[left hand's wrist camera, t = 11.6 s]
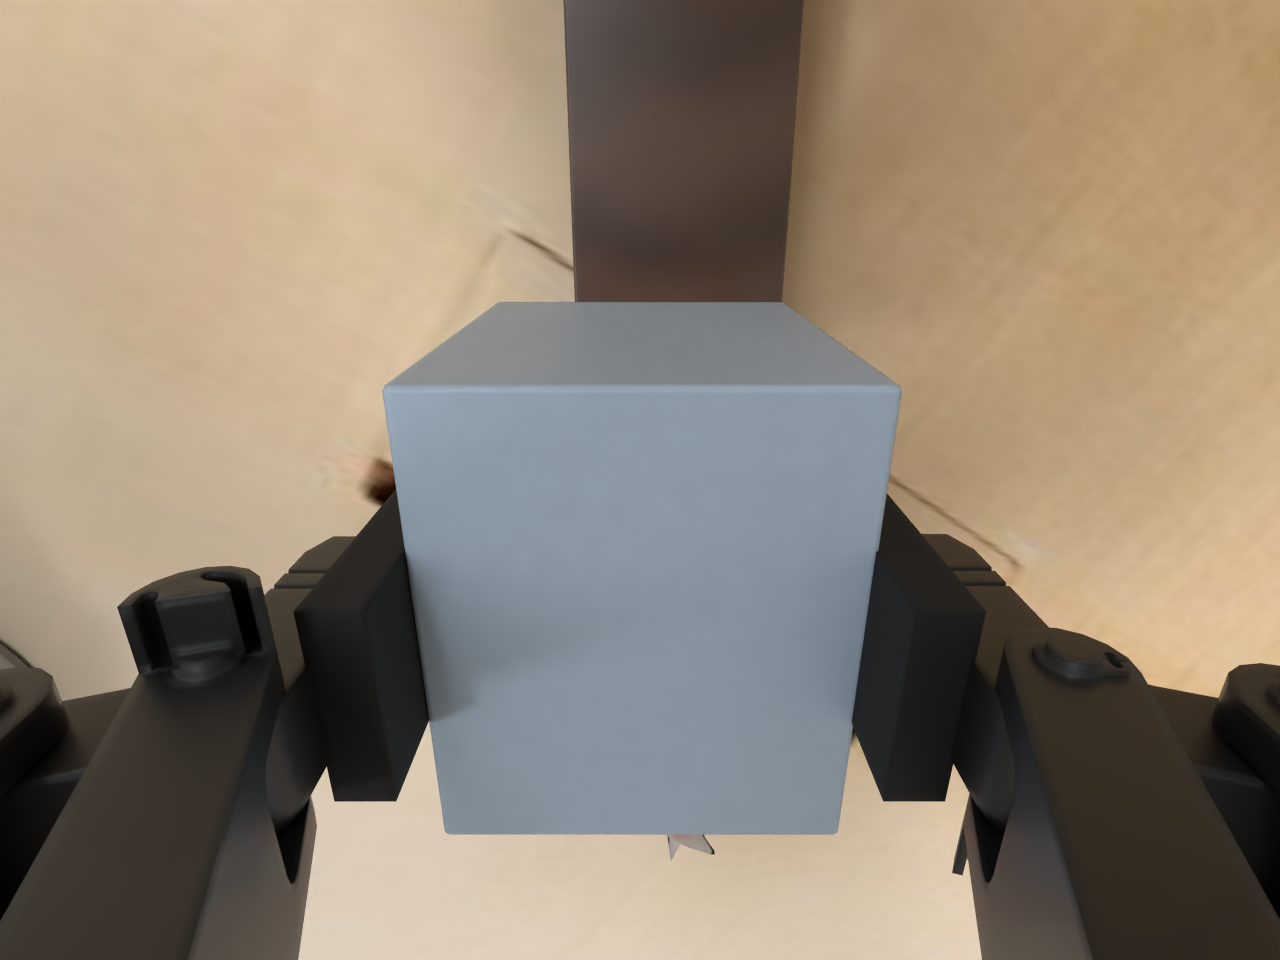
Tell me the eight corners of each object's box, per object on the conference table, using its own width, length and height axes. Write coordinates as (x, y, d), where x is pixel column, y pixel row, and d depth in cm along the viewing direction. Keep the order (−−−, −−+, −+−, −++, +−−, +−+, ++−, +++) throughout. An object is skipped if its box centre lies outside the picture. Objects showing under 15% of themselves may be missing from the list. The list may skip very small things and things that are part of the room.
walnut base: (751, 403, 34) (772, 443, 29) (590, 403, 35) (580, 443, 29) (798, -384, 24) (845, -560, 18) (566, -382, 24) (542, -557, 18)
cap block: (763, 593, 17) (839, 836, 11) (518, 593, 17) (443, 837, 11) (786, 301, 14) (905, 385, 8) (496, 301, 14) (377, 385, 8)
